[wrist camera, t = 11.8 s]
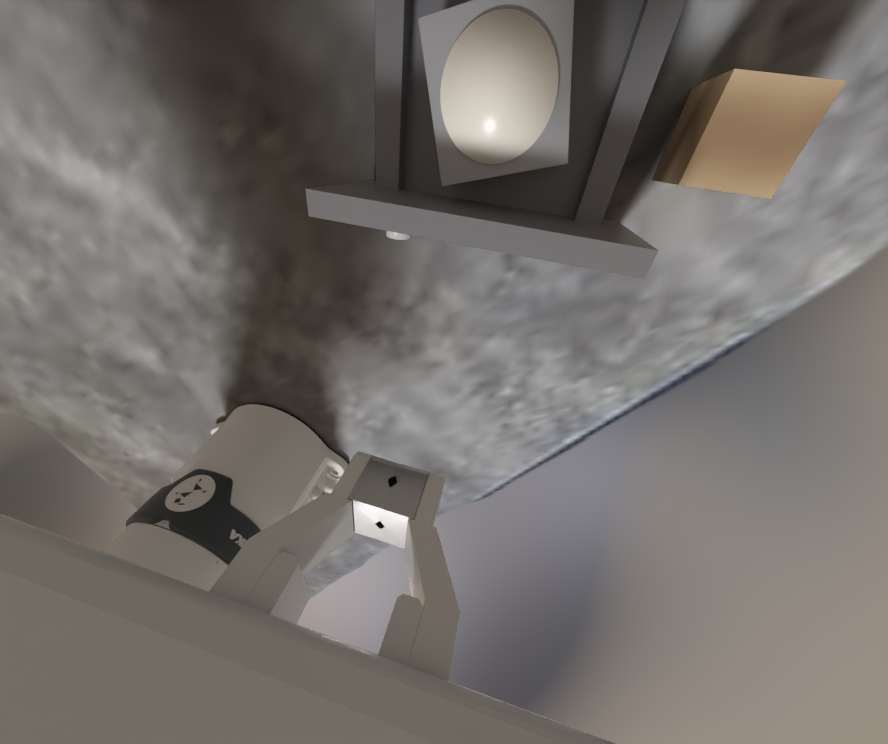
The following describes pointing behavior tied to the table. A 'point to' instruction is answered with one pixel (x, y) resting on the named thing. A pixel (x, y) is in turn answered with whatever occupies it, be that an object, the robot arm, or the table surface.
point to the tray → (524, 193)
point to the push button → (499, 86)
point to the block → (745, 131)
